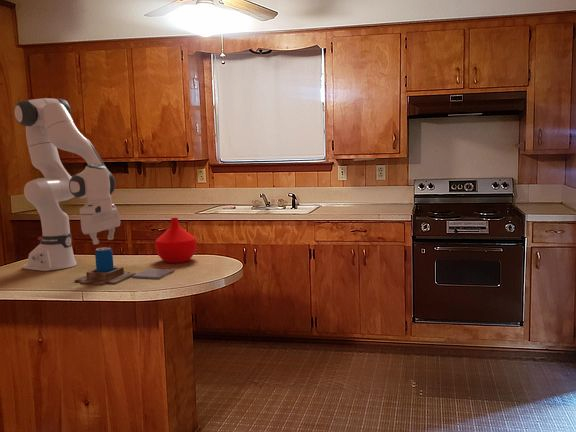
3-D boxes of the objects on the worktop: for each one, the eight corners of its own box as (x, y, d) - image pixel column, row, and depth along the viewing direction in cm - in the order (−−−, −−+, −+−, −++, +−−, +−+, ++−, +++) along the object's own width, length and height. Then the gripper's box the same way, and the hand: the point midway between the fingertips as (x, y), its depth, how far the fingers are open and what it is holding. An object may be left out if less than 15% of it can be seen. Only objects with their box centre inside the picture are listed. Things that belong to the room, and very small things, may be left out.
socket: (71, 283, 216) (70, 274, 215) (100, 272, 233) (99, 263, 232) (112, 285, 211) (111, 276, 210) (138, 273, 228) (137, 265, 227)
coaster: (132, 277, 222) (132, 275, 222) (148, 270, 233) (148, 268, 233) (159, 279, 218) (159, 277, 218) (174, 271, 229) (174, 269, 229)
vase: (148, 265, 243) (145, 221, 240) (166, 255, 261) (164, 215, 258) (188, 265, 239) (185, 221, 236) (204, 256, 257) (201, 215, 254)
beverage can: (99, 276, 225) (97, 247, 223) (115, 276, 225) (113, 246, 224) (95, 281, 218) (92, 250, 217) (112, 280, 219) (110, 249, 217)
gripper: (109, 203, 228) (112, 237, 230) (76, 210, 209) (80, 246, 211) (122, 203, 226) (125, 237, 228) (90, 209, 207) (94, 246, 209)
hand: (103, 241), depth 219 cm, fingers open, 8 cm apart
